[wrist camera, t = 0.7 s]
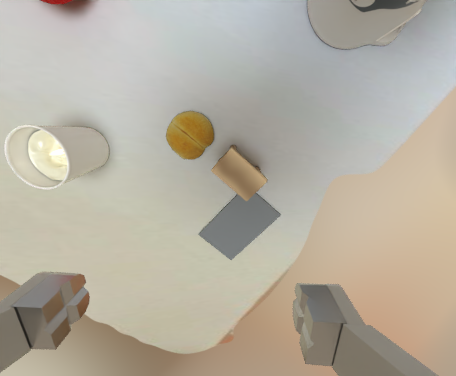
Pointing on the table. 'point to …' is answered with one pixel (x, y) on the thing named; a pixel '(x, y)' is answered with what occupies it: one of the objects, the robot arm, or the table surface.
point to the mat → (239, 224)
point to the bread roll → (189, 134)
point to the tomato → (56, 1)
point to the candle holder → (54, 153)
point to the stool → (239, 174)
